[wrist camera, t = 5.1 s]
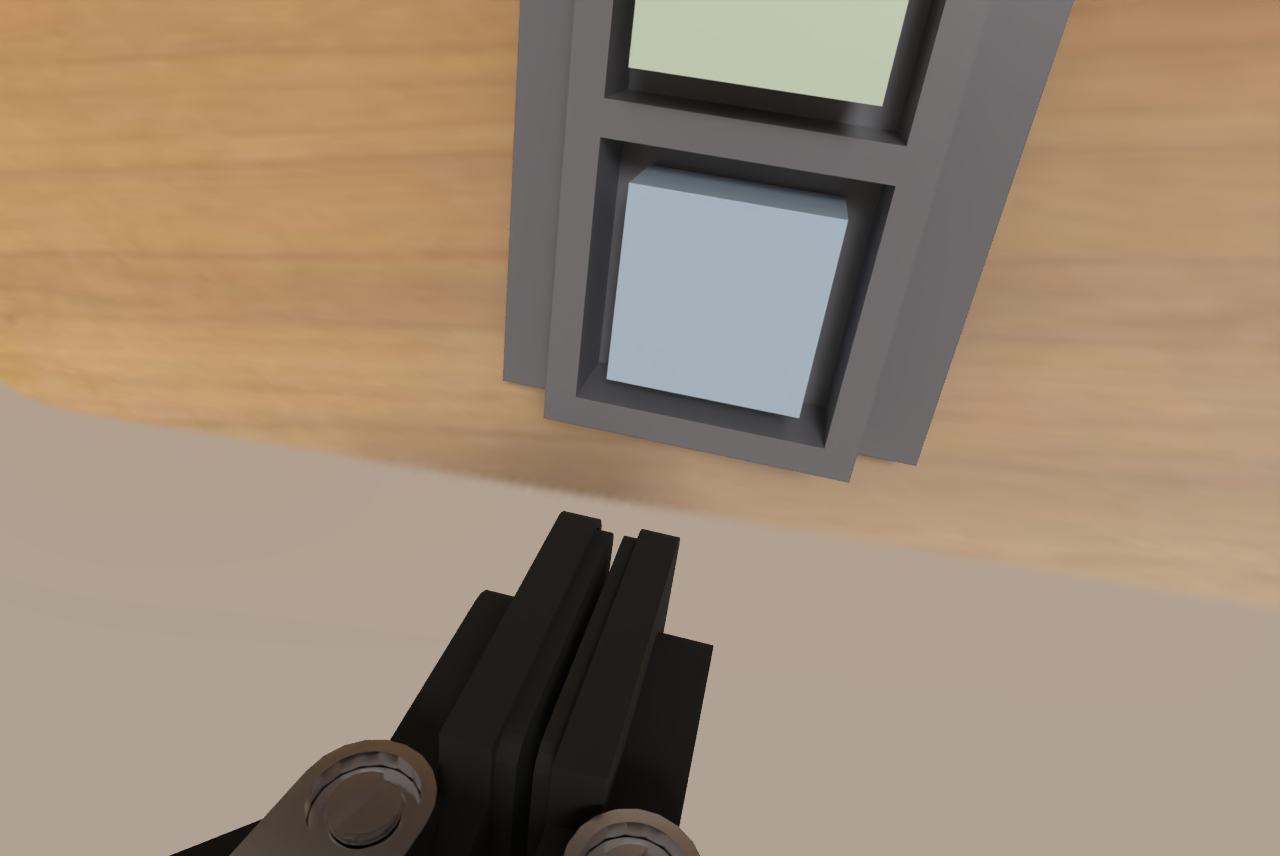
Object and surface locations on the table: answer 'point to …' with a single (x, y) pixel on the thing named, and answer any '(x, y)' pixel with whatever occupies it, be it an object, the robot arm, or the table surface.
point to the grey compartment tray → (786, 157)
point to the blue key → (723, 287)
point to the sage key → (773, 43)
